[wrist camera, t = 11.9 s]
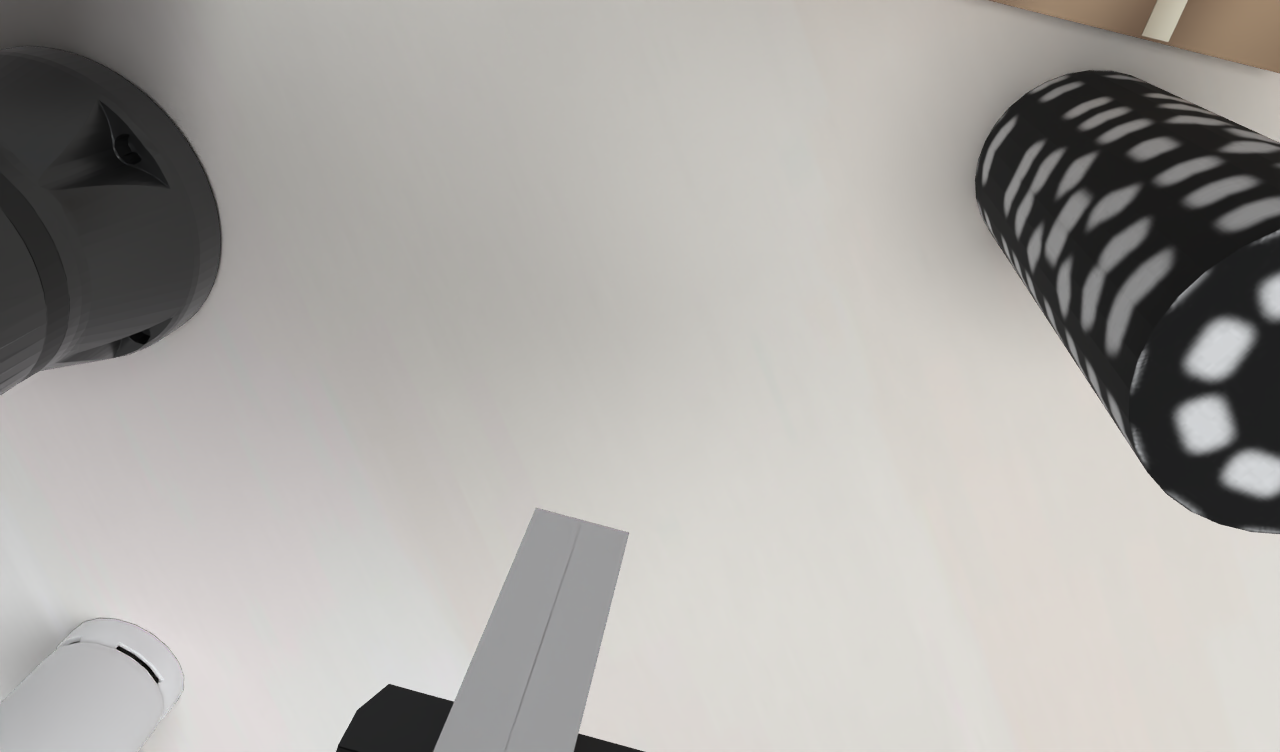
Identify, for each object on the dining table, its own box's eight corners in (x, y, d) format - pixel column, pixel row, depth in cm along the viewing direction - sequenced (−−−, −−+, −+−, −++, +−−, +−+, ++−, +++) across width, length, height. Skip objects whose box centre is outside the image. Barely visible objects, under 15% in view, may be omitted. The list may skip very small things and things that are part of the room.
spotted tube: (946, 127, 39) (1082, 304, 21) (1153, 32, 36) (1509, 141, 18) (1012, 294, 42) (1180, 574, 24) (1209, 217, 39) (1564, 467, 21)
